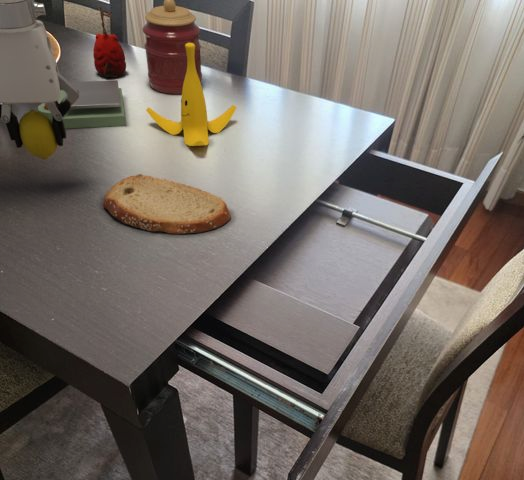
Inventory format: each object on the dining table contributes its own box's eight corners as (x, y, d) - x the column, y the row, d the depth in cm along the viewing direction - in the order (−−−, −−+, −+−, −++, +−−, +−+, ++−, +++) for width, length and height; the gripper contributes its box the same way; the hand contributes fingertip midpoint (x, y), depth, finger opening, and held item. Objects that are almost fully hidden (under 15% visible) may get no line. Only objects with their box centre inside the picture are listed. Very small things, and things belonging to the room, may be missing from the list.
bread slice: (238, 222, 81) (238, 202, 78) (136, 253, 74) (133, 233, 71) (190, 174, 91) (188, 154, 88) (96, 197, 84) (91, 177, 81)
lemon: (48, 170, 79) (35, 120, 73) (20, 162, 80) (4, 112, 74) (69, 156, 83) (57, 107, 77) (41, 148, 84) (28, 100, 78)
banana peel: (199, 159, 95) (194, 64, 82) (146, 124, 104) (134, 34, 91) (262, 137, 102) (267, 47, 90) (208, 106, 112) (205, 21, 99)
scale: (42, 130, 100) (36, 113, 97) (46, 100, 110) (41, 84, 107) (126, 126, 103) (123, 109, 100) (122, 97, 113) (120, 81, 110)
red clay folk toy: (128, 69, 124) (118, -1, 113) (126, 80, 120) (116, 7, 109) (97, 69, 123) (84, -2, 112) (94, 80, 119) (80, 7, 108)
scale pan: (65, 109, 99) (64, 106, 98) (67, 84, 107) (66, 82, 107) (120, 106, 101) (120, 103, 101) (118, 83, 109) (117, 80, 109)
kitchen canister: (184, 99, 114) (178, 10, 101) (138, 87, 117) (126, -1, 104) (211, 81, 122) (209, -4, 109) (167, 71, 125) (160, -13, 112)
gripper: (71, 6, 70) (95, 131, 84) (-60, 3, 67) (-14, 134, 80) (70, 22, 66) (95, 151, 79) (-71, 20, 62) (-20, 156, 76)
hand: (40, 142), depth 80 cm, fingers closed on lemon, 5 cm apart
